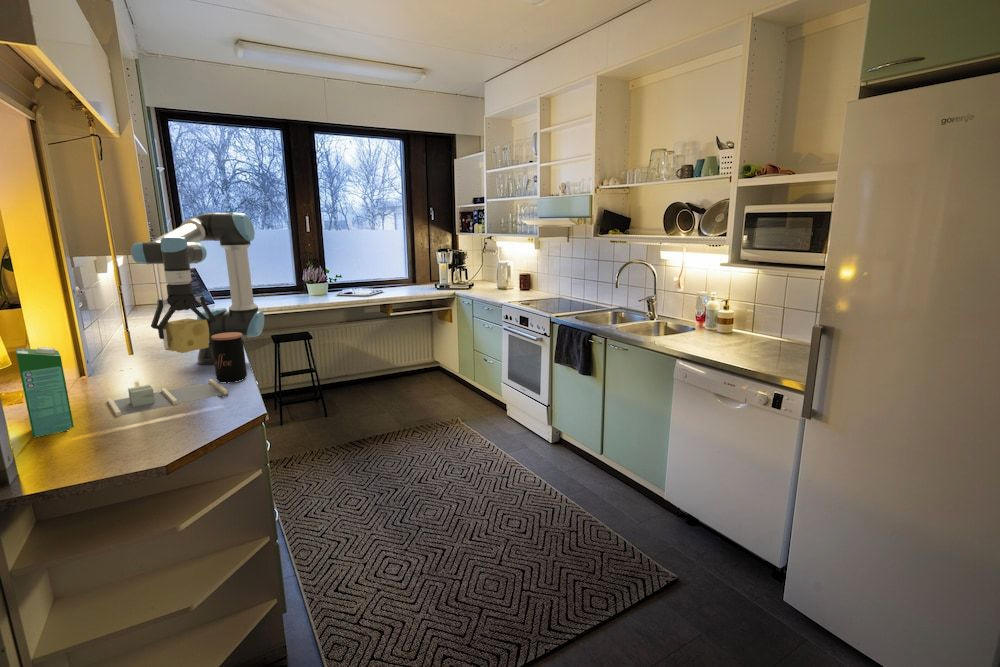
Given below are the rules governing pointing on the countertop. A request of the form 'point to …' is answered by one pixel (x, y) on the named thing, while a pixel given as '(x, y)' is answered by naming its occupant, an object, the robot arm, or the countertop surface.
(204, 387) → the slot board
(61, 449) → the countertop surface
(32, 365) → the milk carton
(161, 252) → the robot arm
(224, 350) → the coffee jar
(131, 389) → the sage block
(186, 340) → the cheese
